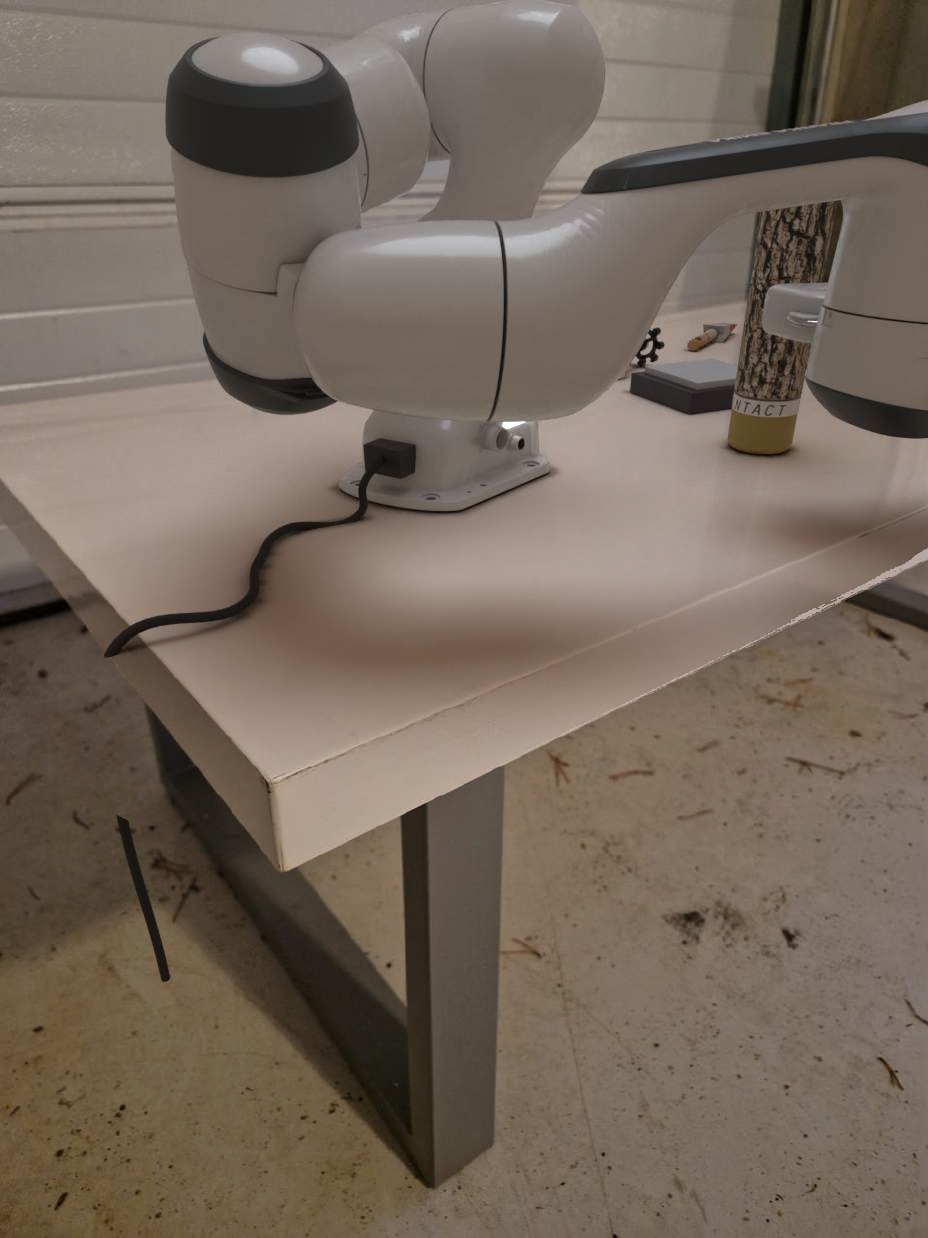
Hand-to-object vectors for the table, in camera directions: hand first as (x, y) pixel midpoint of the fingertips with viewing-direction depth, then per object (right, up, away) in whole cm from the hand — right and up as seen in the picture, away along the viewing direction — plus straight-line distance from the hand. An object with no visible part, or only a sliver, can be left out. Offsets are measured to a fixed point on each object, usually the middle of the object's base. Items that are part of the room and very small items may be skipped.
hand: (847, 295), depth 72 cm
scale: (-2, +1, +38) cm, 39 cm away
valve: (-9, +9, +52) cm, 54 cm away
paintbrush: (+10, +20, +73) cm, 76 cm away
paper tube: (-1, -9, +19) cm, 21 cm away
